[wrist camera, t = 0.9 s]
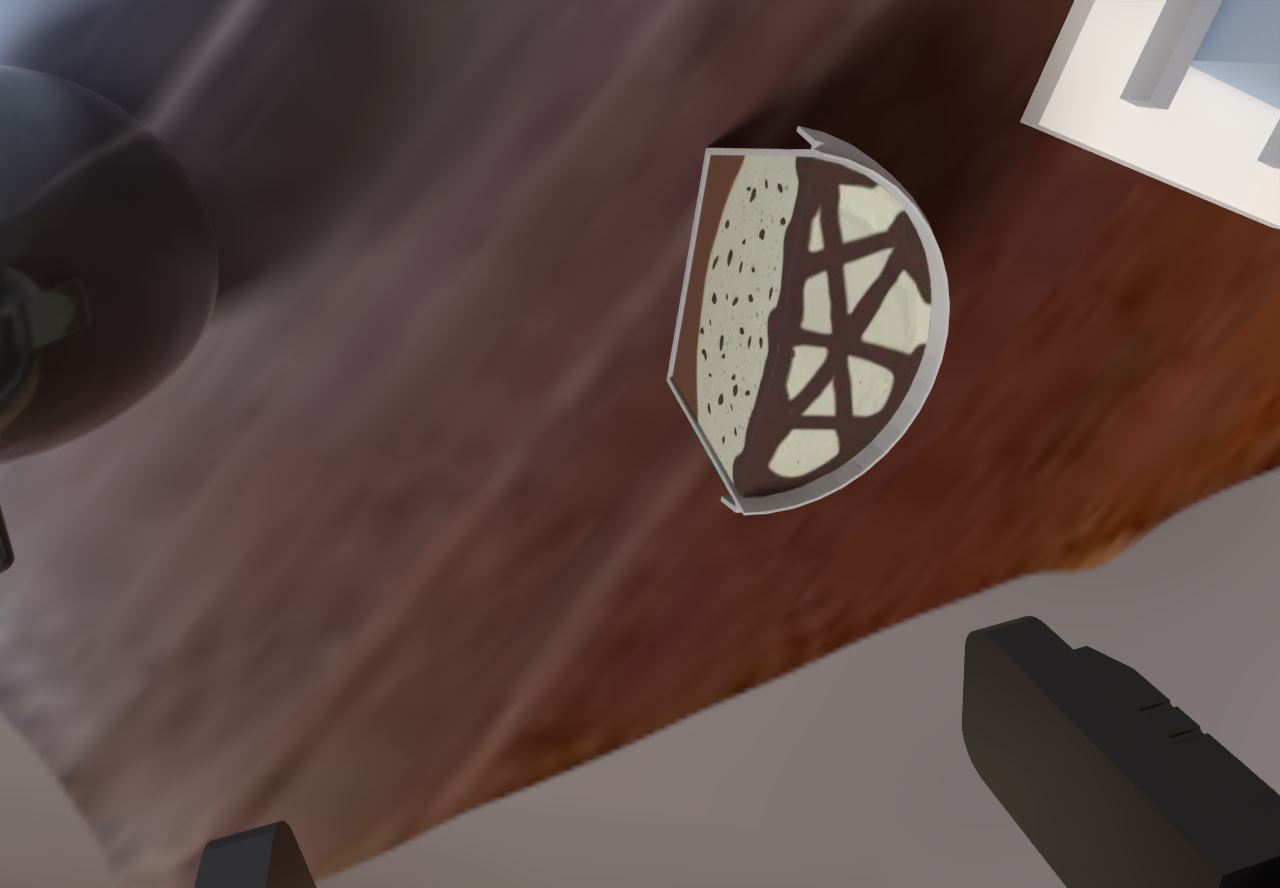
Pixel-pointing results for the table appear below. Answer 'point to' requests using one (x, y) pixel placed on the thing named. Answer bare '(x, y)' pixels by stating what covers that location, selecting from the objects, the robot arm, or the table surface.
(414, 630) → the table surface
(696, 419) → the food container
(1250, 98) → the bench
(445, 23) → the table surface
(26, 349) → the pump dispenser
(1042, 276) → the table surface
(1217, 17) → the plunger
